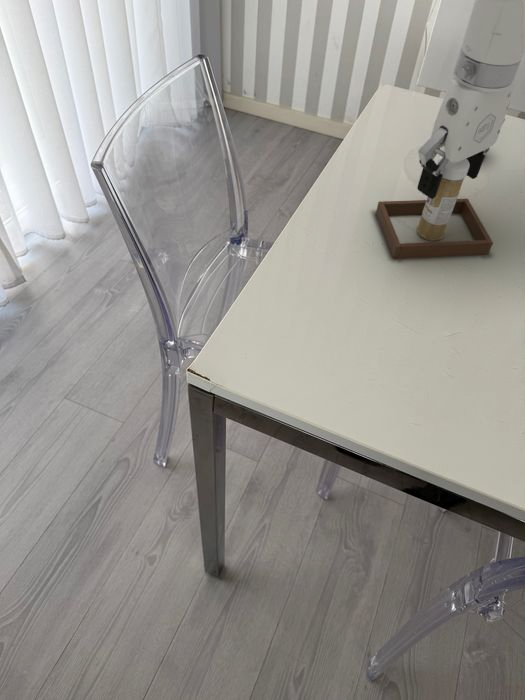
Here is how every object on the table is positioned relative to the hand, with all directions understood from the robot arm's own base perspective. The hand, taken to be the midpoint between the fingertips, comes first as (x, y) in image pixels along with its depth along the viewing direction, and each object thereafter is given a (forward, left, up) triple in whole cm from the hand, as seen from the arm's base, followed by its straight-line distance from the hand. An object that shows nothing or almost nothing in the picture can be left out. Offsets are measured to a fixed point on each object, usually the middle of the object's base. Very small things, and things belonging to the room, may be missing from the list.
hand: (447, 183), depth 86 cm
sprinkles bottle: (0, 0, -10) cm, 10 cm away
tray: (0, 0, -10) cm, 10 cm away
